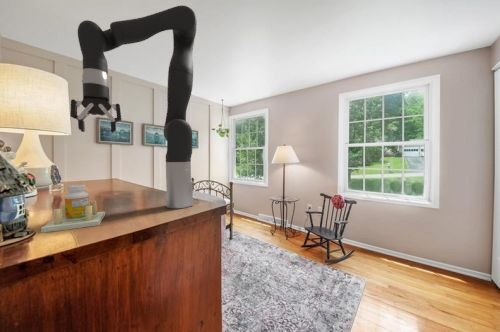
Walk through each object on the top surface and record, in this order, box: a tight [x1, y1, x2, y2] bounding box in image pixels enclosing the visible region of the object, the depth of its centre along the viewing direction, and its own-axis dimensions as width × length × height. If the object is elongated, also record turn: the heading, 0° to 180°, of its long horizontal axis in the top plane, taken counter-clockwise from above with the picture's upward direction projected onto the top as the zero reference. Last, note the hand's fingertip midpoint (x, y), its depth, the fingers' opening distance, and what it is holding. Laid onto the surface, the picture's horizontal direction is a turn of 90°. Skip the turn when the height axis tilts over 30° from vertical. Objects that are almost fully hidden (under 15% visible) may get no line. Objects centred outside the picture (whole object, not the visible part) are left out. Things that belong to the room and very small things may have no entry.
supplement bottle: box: [64, 184, 90, 221], centre depth 61 cm, size 5×5×10 cm
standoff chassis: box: [40, 200, 106, 233], centre depth 61 cm, size 12×12×5 cm
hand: (98, 132), depth 74 cm, fingers open, 8 cm apart
